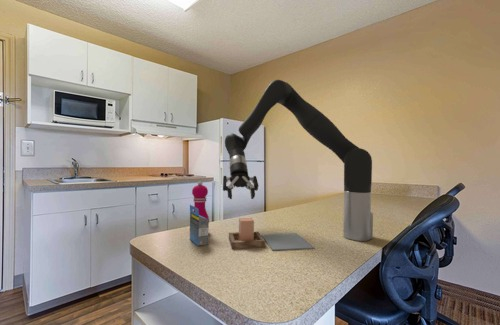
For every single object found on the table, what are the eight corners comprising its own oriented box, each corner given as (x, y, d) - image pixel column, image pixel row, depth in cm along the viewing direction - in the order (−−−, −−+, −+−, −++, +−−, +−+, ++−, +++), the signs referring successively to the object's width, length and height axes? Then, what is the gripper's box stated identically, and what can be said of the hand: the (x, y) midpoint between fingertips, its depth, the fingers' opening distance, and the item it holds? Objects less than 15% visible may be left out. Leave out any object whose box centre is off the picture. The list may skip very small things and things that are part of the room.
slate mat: (296, 234, 95) (296, 233, 95) (314, 248, 79) (314, 247, 79) (261, 235, 92) (261, 234, 92) (272, 250, 77) (272, 249, 77)
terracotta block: (251, 240, 87) (251, 217, 87) (253, 244, 82) (253, 220, 82) (238, 240, 86) (238, 218, 86) (240, 245, 82) (240, 221, 82)
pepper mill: (212, 231, 96) (213, 181, 96) (199, 236, 90) (200, 182, 90) (199, 228, 100) (199, 180, 100) (185, 233, 94) (186, 181, 94)
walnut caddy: (258, 236, 91) (258, 231, 91) (265, 247, 80) (265, 241, 80) (228, 238, 89) (228, 232, 89) (231, 248, 78) (231, 242, 78)
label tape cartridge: (209, 244, 82) (209, 207, 82) (197, 246, 80) (198, 208, 79) (199, 237, 89) (199, 203, 89) (188, 239, 87) (189, 204, 87)
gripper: (222, 161, 102) (224, 192, 91) (255, 161, 105) (261, 191, 94) (221, 173, 108) (222, 203, 96) (253, 173, 110) (258, 203, 99)
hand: (241, 197), depth 95 cm, fingers open, 8 cm apart
